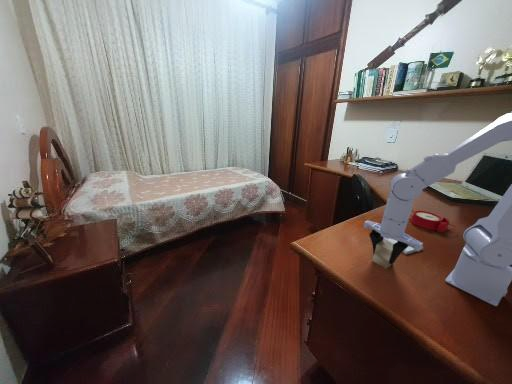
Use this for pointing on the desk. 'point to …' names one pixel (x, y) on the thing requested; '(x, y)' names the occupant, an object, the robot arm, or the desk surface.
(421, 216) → the alarm clock
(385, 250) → the birch block
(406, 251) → the external hard drive
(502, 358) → the desk surface
